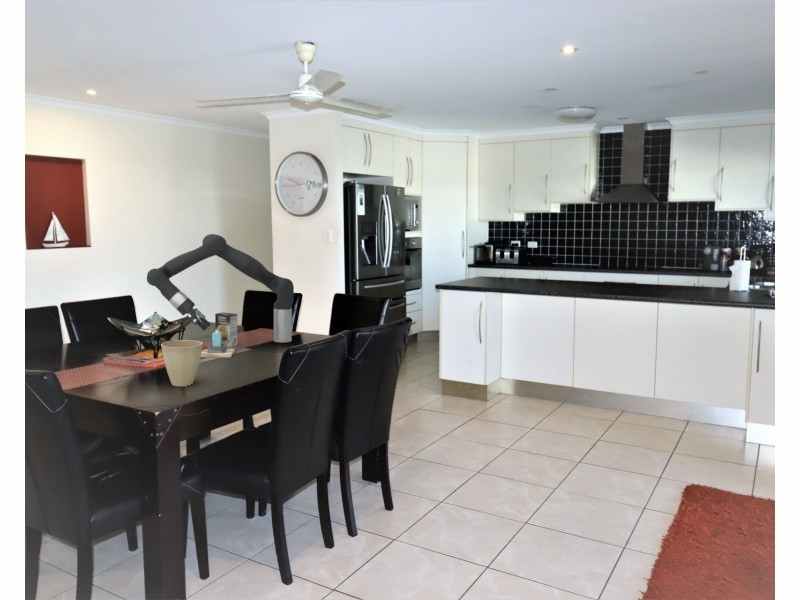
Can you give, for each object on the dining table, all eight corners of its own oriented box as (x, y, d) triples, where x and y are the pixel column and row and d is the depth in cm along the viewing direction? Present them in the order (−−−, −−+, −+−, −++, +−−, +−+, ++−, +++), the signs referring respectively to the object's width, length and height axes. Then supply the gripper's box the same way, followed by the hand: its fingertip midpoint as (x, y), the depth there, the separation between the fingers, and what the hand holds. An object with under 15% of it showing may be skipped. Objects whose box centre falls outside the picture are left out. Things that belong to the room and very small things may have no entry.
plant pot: (197, 389, 231) (197, 347, 229) (156, 389, 230) (155, 347, 228) (207, 379, 246) (206, 339, 244) (168, 378, 245) (167, 339, 243)
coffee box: (214, 345, 309) (214, 313, 307) (223, 343, 315) (222, 311, 313) (229, 347, 306) (229, 315, 304) (237, 345, 312) (237, 313, 310)
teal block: (214, 350, 292) (214, 330, 291) (221, 350, 293) (221, 330, 292) (212, 352, 288) (212, 331, 287) (220, 352, 289) (220, 331, 288)
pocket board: (205, 350, 297) (204, 342, 296) (234, 350, 299) (234, 342, 298) (199, 357, 283) (198, 348, 283) (230, 357, 285) (230, 348, 284)
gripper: (184, 299, 279) (210, 324, 281) (191, 295, 293) (216, 319, 296) (172, 310, 279) (198, 336, 282) (179, 306, 293) (204, 330, 296)
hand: (207, 327), depth 289 cm, fingers open, 8 cm apart
